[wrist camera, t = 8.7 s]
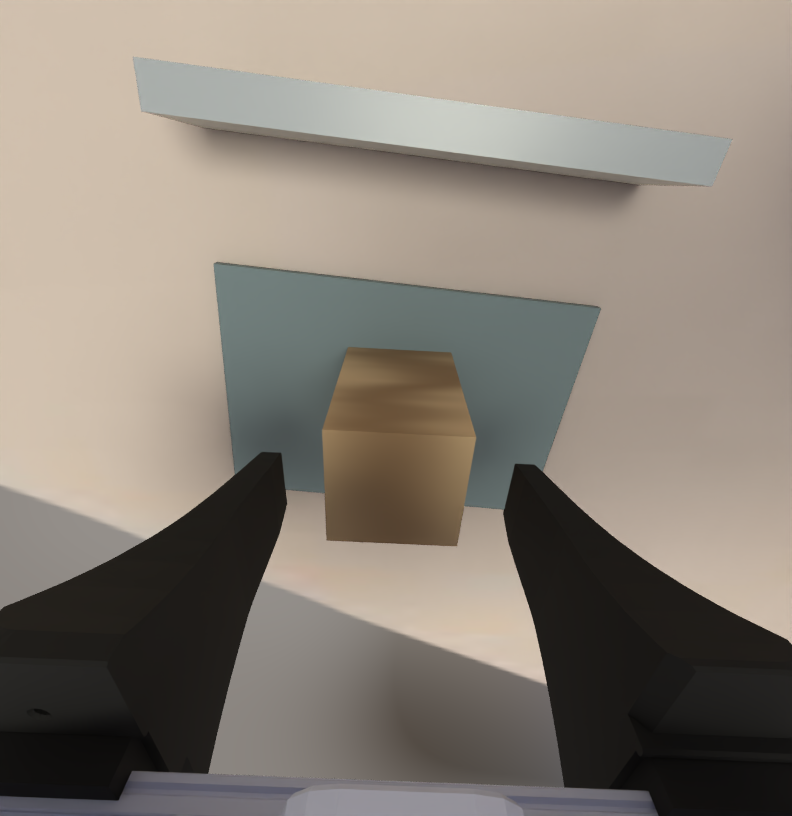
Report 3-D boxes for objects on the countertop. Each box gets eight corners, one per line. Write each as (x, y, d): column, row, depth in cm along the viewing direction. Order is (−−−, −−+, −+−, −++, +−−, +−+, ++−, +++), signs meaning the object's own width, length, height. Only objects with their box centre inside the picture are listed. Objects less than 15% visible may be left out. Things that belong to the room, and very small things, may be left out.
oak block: (451, 352, 16) (476, 437, 11) (440, 438, 18) (456, 546, 13) (347, 346, 16) (322, 429, 11) (348, 434, 18) (326, 540, 13)
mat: (597, 306, 15) (600, 308, 15) (526, 507, 20) (527, 511, 20) (217, 262, 15) (213, 263, 14) (238, 480, 19) (235, 484, 19)
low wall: (653, 149, 13) (732, 139, 10) (640, 184, 13) (711, 186, 10) (199, 87, 12) (132, 56, 9) (203, 127, 13) (141, 111, 10)
